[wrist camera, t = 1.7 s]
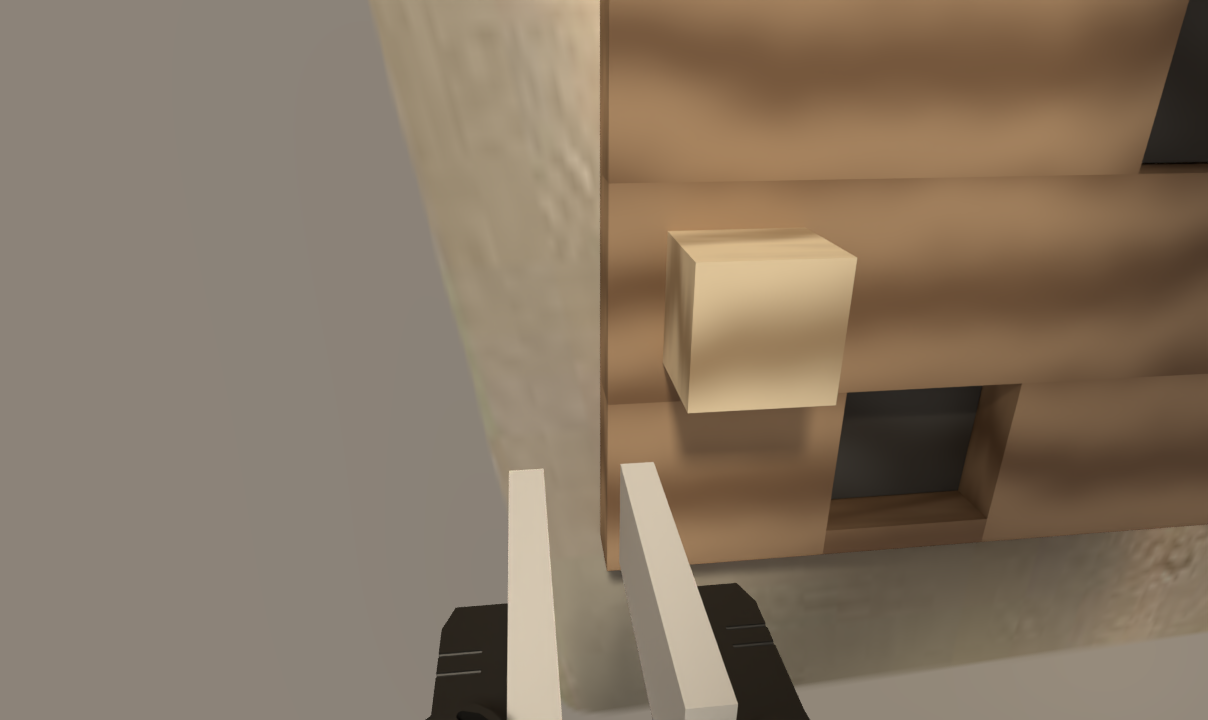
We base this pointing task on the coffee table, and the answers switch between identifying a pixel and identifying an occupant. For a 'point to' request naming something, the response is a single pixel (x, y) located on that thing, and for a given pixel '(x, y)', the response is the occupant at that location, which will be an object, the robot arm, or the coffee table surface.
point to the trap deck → (919, 264)
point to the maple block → (755, 318)
